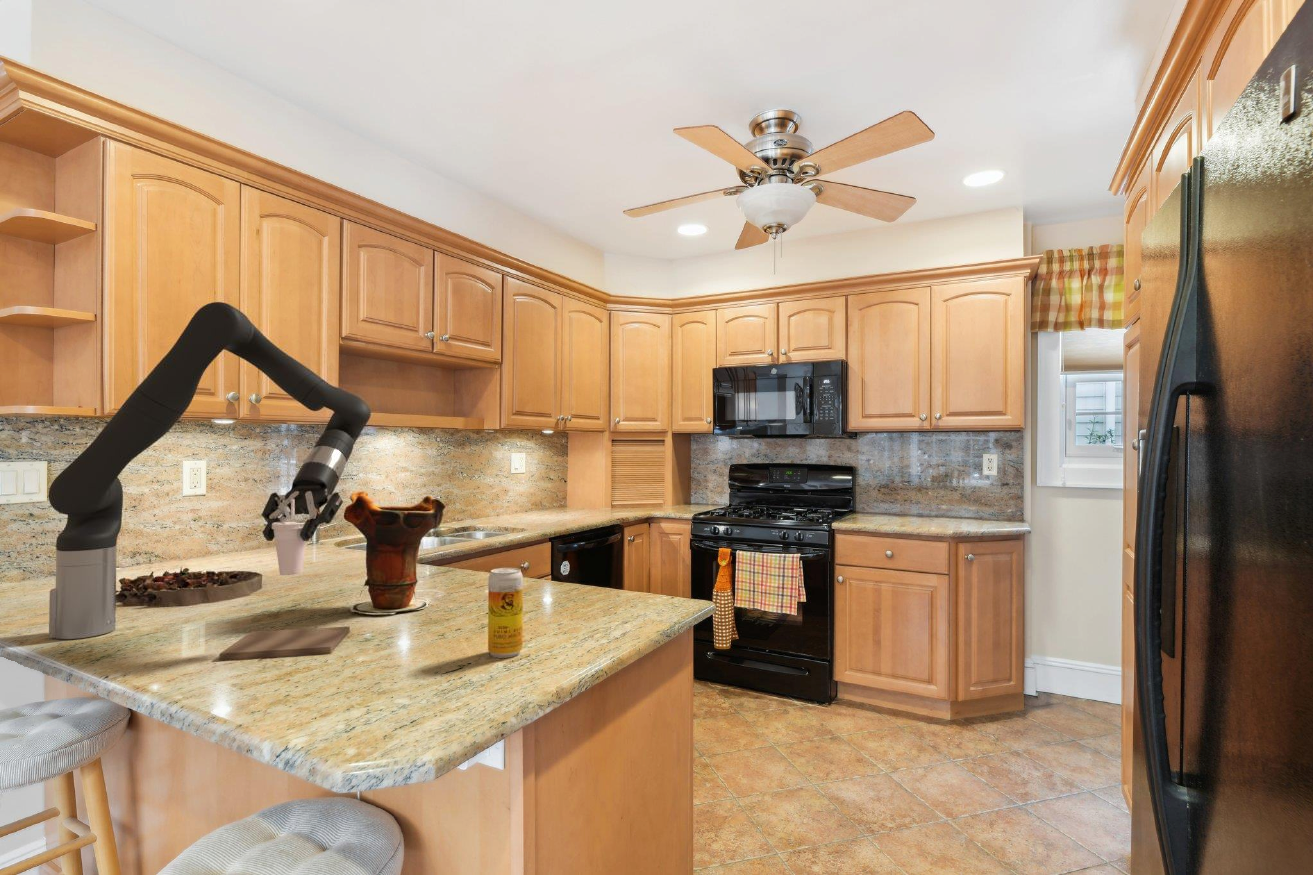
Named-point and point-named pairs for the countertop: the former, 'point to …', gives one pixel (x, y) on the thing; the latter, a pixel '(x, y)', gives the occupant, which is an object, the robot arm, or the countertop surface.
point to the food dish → (187, 588)
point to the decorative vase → (392, 550)
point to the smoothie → (289, 544)
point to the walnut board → (286, 643)
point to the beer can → (505, 612)
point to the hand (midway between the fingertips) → (285, 538)
